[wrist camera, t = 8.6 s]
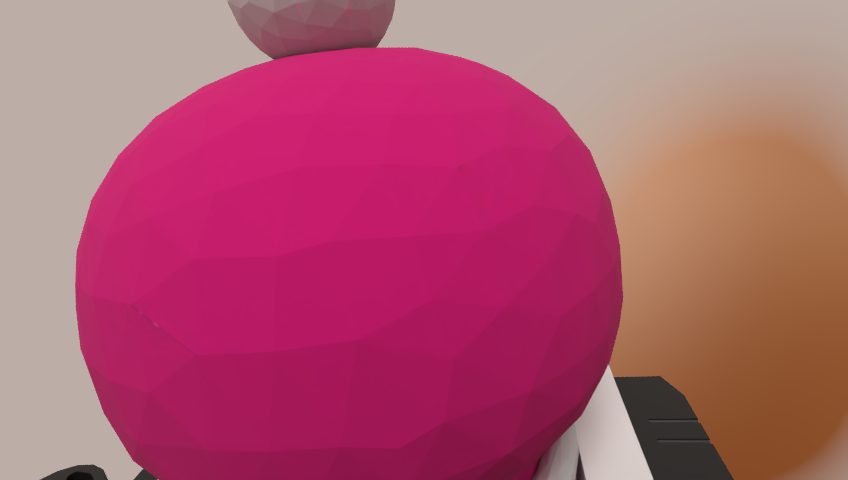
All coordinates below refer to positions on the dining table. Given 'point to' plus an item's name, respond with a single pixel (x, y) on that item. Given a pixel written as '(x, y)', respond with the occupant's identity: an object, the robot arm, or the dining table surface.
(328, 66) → the pepper mill
